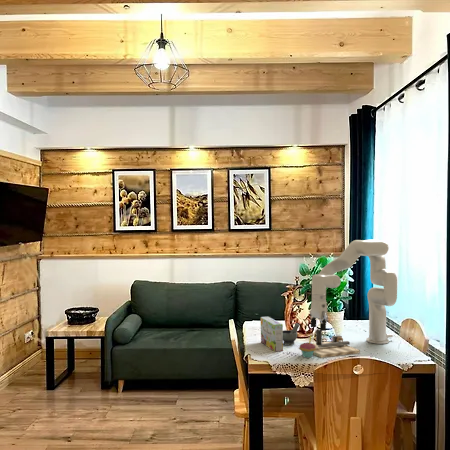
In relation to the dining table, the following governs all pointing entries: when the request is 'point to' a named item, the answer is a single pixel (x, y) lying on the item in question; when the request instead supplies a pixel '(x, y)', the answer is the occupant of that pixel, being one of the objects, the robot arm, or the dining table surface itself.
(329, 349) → the board
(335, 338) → the anvil
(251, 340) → the dining table surface
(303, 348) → the cupcake
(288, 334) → the mortar and pestle
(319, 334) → the lever
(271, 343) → the snack box
